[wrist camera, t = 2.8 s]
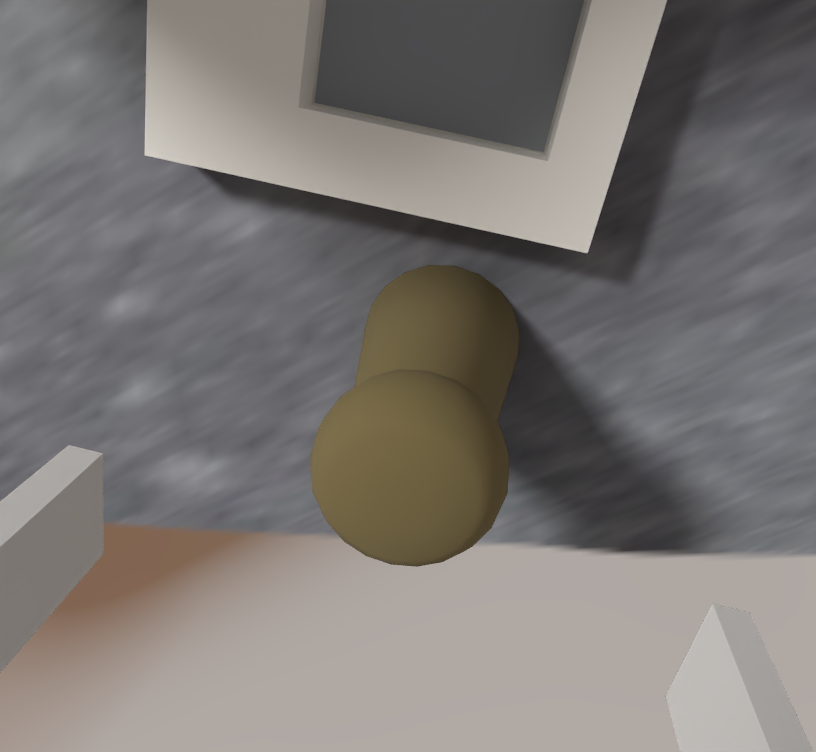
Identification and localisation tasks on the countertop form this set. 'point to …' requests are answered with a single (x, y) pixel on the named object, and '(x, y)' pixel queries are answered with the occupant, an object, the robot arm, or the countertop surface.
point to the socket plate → (407, 102)
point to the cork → (421, 421)
